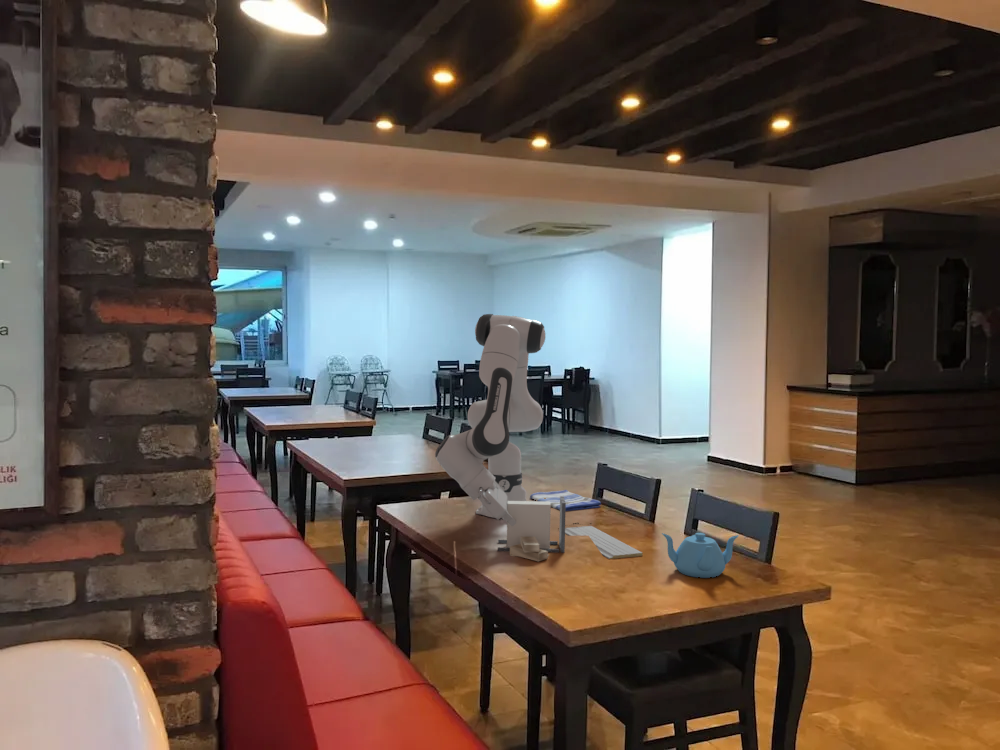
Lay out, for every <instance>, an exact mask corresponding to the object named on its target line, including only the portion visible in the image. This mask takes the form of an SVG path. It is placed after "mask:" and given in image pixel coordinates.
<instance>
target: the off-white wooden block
mask: <svg viewBox="0 0 1000 750" xmlns="http://www.w3.org/2000/svg"><path fill="white" fill-rule="evenodd" d="M551 508H552V507H551V504H550V502H544V501H535V500H526V501H508V507H507V512H508V513H509V514H510V515H511V516H512V517H513V518H514V519H515V520H516V524H515V525H514V526H511V525H510V524H509V523H508V522H506V540H507V544H506V548H510V546H514V545H517V544H521V537H536V539H537V541H538V543H539V548H546V549H551V547H550V546H551V545H550V541H551Z"/></svg>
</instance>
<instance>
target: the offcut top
mask: <svg viewBox="0 0 1000 750" xmlns="http://www.w3.org/2000/svg"><path fill="white" fill-rule="evenodd" d="M521 546H522V548H523V551H524V552H539V543H538V541H537V539H536V537H521Z"/></svg>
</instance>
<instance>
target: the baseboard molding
mask: <svg viewBox="0 0 1000 750" xmlns="http://www.w3.org/2000/svg"><path fill="white" fill-rule="evenodd" d="M572 525H576V527H566V526H567V524H565V535H567V536H570V537H571V536H574V537H577V536H587V537H589V538H590V540H591V541H592V542H593V544H594V545H595V547H596V548H597V549H598V551H599V552H600V553H601V555H602V556H604V558H606V559H608V560H615V559H624V558H635V557H643V551H640V550H638V549H637V548H634V547H633V546H630V545H629V544H626V543H625V542H623V541H621V540H619V539H618V538H616V537H613V536H612V535H609V534H608V533H606V532H604V531H603V530H600V529H598V528H596V527H594V526H592V522H590V525H587V526H586V525H584V526H583V525H582V526H577V525H581V523H580V522H575V523H574V522H573V523H572ZM559 529H560V527H559V528H557V530H559Z"/></svg>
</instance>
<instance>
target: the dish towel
mask: <svg viewBox="0 0 1000 750" xmlns="http://www.w3.org/2000/svg"><path fill="white" fill-rule="evenodd" d="M560 496H563V497H564V499H565V502H566V512H571V511H579V510H580V511H581V510H590V509H598V508H601V505H602V503H601V501H600V500H598V499H595V498H590V497H587V496H586V497H584V496H582V495H581V494H578V493H574V492H570V491H569V490H567V489H563V490H555V491H554V490H553V491H545V492H544V491H537V492H533V493H532V494H530V495H529V499H530V498H531V499H530V500H532V499H534V500H533V501H535V500H537V501H544V502H550V504H551V508H553V509H555V510H559V511H560ZM544 498H546V499H544Z"/></svg>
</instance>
